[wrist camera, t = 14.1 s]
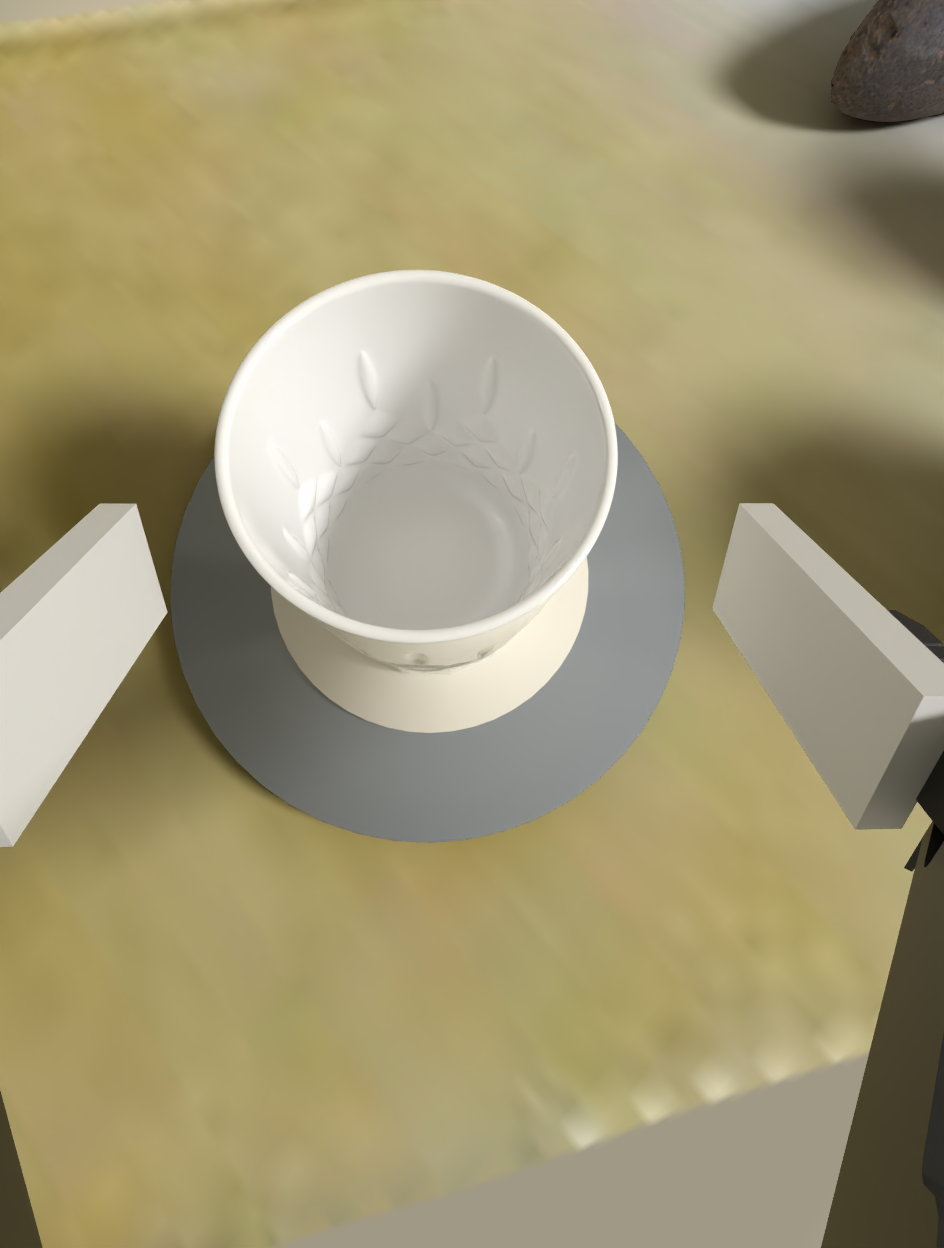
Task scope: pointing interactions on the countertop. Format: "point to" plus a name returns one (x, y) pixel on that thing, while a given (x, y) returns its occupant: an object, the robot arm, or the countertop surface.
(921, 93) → the perforated stone tool
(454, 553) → the white cup
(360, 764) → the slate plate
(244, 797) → the countertop surface
